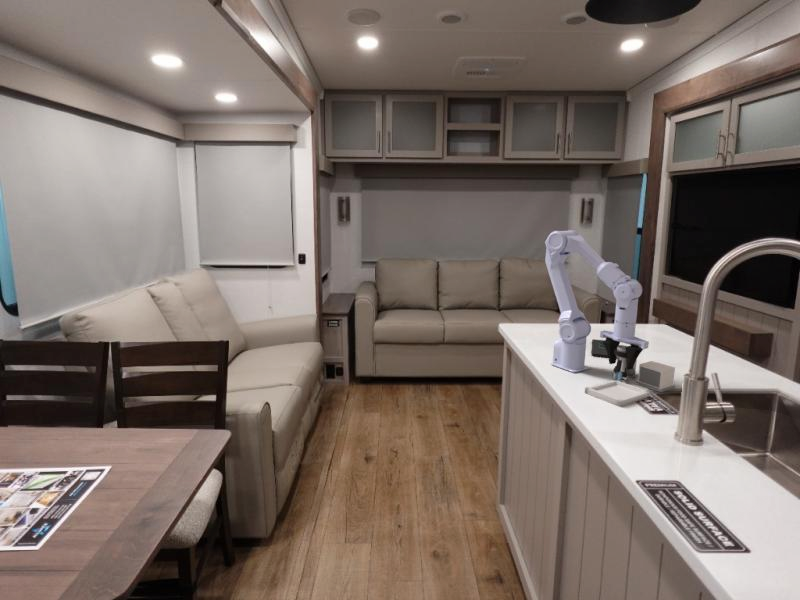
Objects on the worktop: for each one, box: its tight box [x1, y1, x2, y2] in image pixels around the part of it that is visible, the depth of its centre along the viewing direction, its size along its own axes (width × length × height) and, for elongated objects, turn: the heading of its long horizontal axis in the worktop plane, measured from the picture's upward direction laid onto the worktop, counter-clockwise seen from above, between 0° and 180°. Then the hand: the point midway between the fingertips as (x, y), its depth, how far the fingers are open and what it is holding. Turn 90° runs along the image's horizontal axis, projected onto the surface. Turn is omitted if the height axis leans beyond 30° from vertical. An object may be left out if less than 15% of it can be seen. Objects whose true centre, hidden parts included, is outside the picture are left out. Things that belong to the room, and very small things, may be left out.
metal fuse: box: [625, 358, 638, 378], centre depth 152 cm, size 4×4×7 cm
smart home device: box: [590, 338, 609, 359], centre depth 178 cm, size 8×2×20 cm
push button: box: [612, 344, 628, 384], centre depth 146 cm, size 7×5×10 cm
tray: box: [584, 379, 651, 407], centre depth 135 cm, size 11×13×2 cm
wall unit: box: [634, 360, 676, 393], centre depth 142 cm, size 8×7×6 cm
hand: (620, 366), depth 146 cm, fingers closed on push button, 5 cm apart
